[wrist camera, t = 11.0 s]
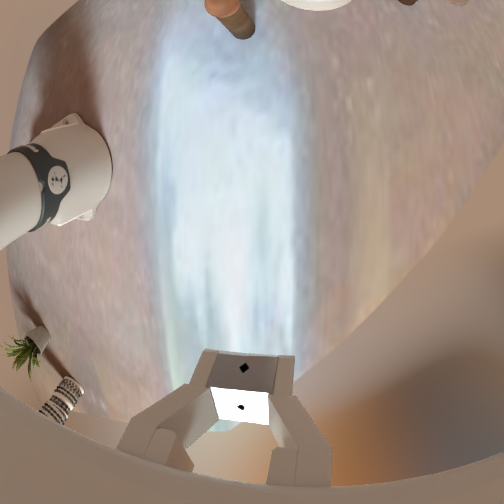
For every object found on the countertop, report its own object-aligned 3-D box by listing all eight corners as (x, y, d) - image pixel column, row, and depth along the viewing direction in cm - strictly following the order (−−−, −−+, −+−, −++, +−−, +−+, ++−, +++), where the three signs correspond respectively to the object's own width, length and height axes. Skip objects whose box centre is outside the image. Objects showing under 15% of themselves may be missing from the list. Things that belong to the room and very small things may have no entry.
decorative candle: (82, 384, 74) (45, 440, 51) (86, 397, 78) (54, 450, 56) (61, 371, 74) (22, 423, 52) (66, 385, 78) (32, 435, 56)
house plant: (22, 300, 61) (-13, 334, 47) (55, 322, 61) (19, 362, 47) (32, 333, 68) (2, 366, 54) (63, 354, 68) (34, 392, 54)
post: (230, 42, 30) (200, 14, 19) (229, 20, 28) (199, -13, 18) (257, 39, 29) (236, 8, 19) (255, 17, 28) (235, -20, 17)
